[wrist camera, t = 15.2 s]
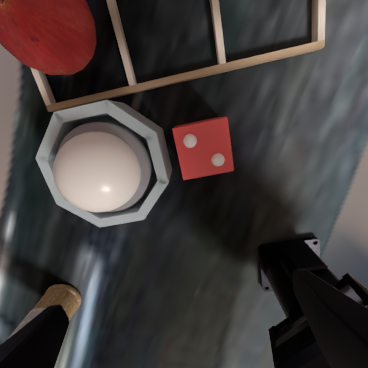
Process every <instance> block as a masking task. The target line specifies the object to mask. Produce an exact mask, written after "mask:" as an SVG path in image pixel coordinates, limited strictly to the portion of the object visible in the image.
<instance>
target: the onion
mask: <svg viewBox="0 0 368 368" xmlns="http://www.w3.org/2000/svg"><path fill="white" fill-rule="evenodd" d="M0 43H1V45H2V46H3V47H4V48H5V49H7V50H8V51H9V52H10V53H11V54H12V55H13V56H15V57H16V58H17V59H18V60H19V61H20V62H22V63H23V64H25V65H26V66H29V67H31V68H33V69H36V70H38V71H41V72H43V73H46V74H49V75H72V74H74V73H76V72H79V71H81V70H83V69H84V68H85V66H86V65H87V64H88V63H89V61H90V60H91V59H92V57H93V54H94V50H95V47H96V31H95V22H94V19H93V16H92V14H91V11H90V9H89V6H88V4H87V2H86V0H0Z"/></svg>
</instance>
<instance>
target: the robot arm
mask: <svg viewBox="0 0 368 368" xmlns="http://www.w3.org/2000/svg"><path fill="white" fill-rule="evenodd" d="M314 241H315V242H314ZM313 242H314V243H313ZM262 249H264V250H262ZM258 255H259V265H260V275H261V286H262V289H263V290H264V291H274V293H275V295H276V297H277V299H278V301H279V303H280V305H281V307H282V309H283V311H284V313H285V315H286V317H287V318H286V319H284V320H283V321H282V322H280V323H279V324H277V325H276V326H272V327H271V328H270V329H269V335H270V341H271V348H272V354H273V361H274V367H275V368H368V289H367V288H365V287H364V286H363V285H362V284H360V283H359V282H358V281H357V280H356V279H354V278H353V277H352V276H351V275H349V274H348V273H347V274H345V275H344V276H343V278H342V279H341V280H339V279H338V278H337V277H336V276H335V275H334V274H333V273H332V272H331V271H330V270H329V268H328V266H327V265H326V264H325V263H324V262H323V261H322V259H321V258H320V240H319V239H318V238H317V237H309V238H303V239H297V240H290V241H284V242H277V243H271V244H264V245H260V246H259V247H258ZM68 325H69V317H68V316H67V314H66V312H65V310H64V308H63V307H62V305H60V304H57V305H51V306H48V307H47V308H46V309H44V310H43V311H42V312H41V313H40V314H38V315H37V316H36V317H35V318H33V319H32V320H31V321H30V322H28V323H27V324H26V325H25V326H23V327H22V328H21V329H20V330H19V331H17V332H16V333H15V334H14V335H12V336H11V337H10V338H9V339H7V340H6V341H5V342H4V343H2V344H1V345H0V368H54V366H55V363H56V361H57V358H58V355H59V352H60V349H61V346H62V343H63V340H64V337H65V334H66V331H67V328H68Z"/></svg>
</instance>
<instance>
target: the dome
mask: <svg viewBox="0 0 368 368" xmlns="http://www.w3.org/2000/svg"><path fill="white" fill-rule="evenodd" d="M152 175H153V161H152V157H151V153H150V150H149V148H148V146H147V144H146V142H145V141H144V140H143V139H142V137H141V136H140V135H139V134H138V133H136V132H135V131H133V130H132V129H130V128H129V127H127V126H125V125H122V124H119V123H116V122H94V123H87V124H83V125H80V126H78V127H76V128H74V129H73V130H72V131H70V132H69V133H68V134H67V135H66V136H65V137H64V139H63V140H62V142H61V144H60V146H59V149H58V153H57V155H56V158H55V161H54V165H53V177H54V182H55V184H56V187H57V189H58V191H59V192H60V194H61V195H62V196H63V197H64V198H65V199H66V200H67V201H68V202H69V203H70V204H72V205H73V206H75V207H77V208H79V209H82V210H85V211H89V212H114V211H120V210H124V209H126V208H128V207H130V206H132V205H133V204H135V203H136V202H137V201H138V200H139V199H140V198H141V197H142V195H143V194H144V192H145V190H146V189H147V187H148V185H149V183H150V181H151V178H152Z"/></svg>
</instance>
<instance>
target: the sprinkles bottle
mask: <svg viewBox="0 0 368 368" xmlns="http://www.w3.org/2000/svg"><path fill="white" fill-rule="evenodd" d="M57 304H60V305H62V307H63V308H64V310H65V312H66V314H67V316H68V317H69V321H70V319H71V318H72V316H73V314H74V313H75V311H76V310H77V309H78V307H79V306H80V304H81V296H80V294H79V292H78V291H77V290H76V289H75V288H73V287H71V286H69V285H64V284H56V285H53V286H51V287H49V288H48V290H47V291H46V292H45V295H44V296H43V297H42V298H41V300H40V301H39V302H38V303H37V305H36V306H35V307H34V308H33V309H32V311H30V312H29V313H28V315H27V316H26V317H25V318H24V320H23V321H22V322H21V323H20V325H19V326H18V327H17V328H16V329H15V331H14V332H13V333H12V334H11V336H12V335H14V334H15V333H16V332H17V331H19V330H20V329H21V328H22V327H23V326H25V325H26V324H27V323H28V322H30V321H31V320H32V319H33V318H35V317H36V316H37V315H38V314H40V313H41V312H42V311H43V310H44V309H46V308H47V307H48V306H51V305H57ZM11 336H10V337H11ZM10 337H9V338H10ZM9 338H8V339H9Z"/></svg>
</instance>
